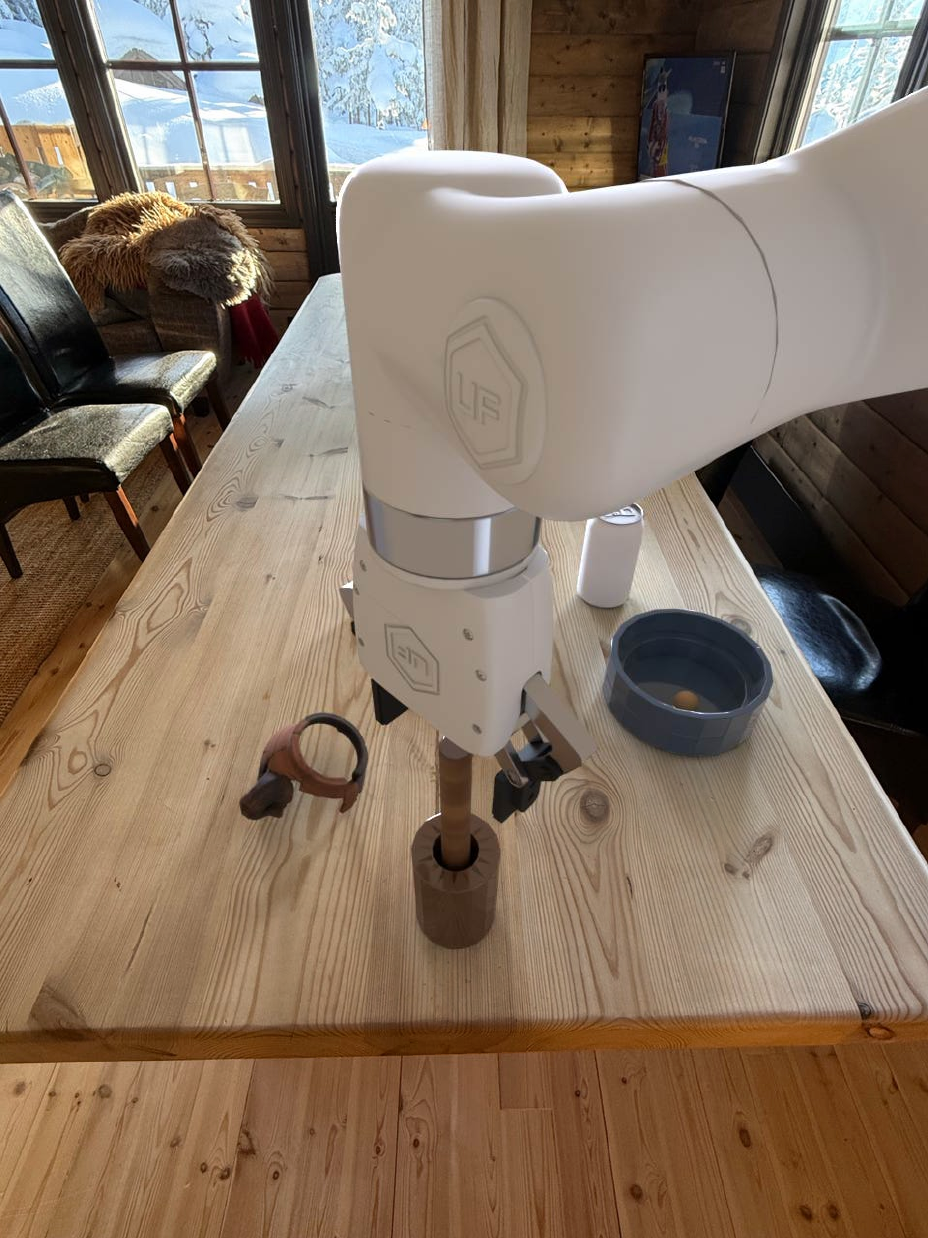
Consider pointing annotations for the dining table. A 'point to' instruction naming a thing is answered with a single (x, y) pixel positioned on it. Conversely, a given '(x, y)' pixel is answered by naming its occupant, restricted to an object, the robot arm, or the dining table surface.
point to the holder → (455, 886)
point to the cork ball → (686, 701)
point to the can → (610, 557)
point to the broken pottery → (301, 771)
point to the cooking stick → (455, 804)
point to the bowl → (686, 681)
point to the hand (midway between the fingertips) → (452, 755)
